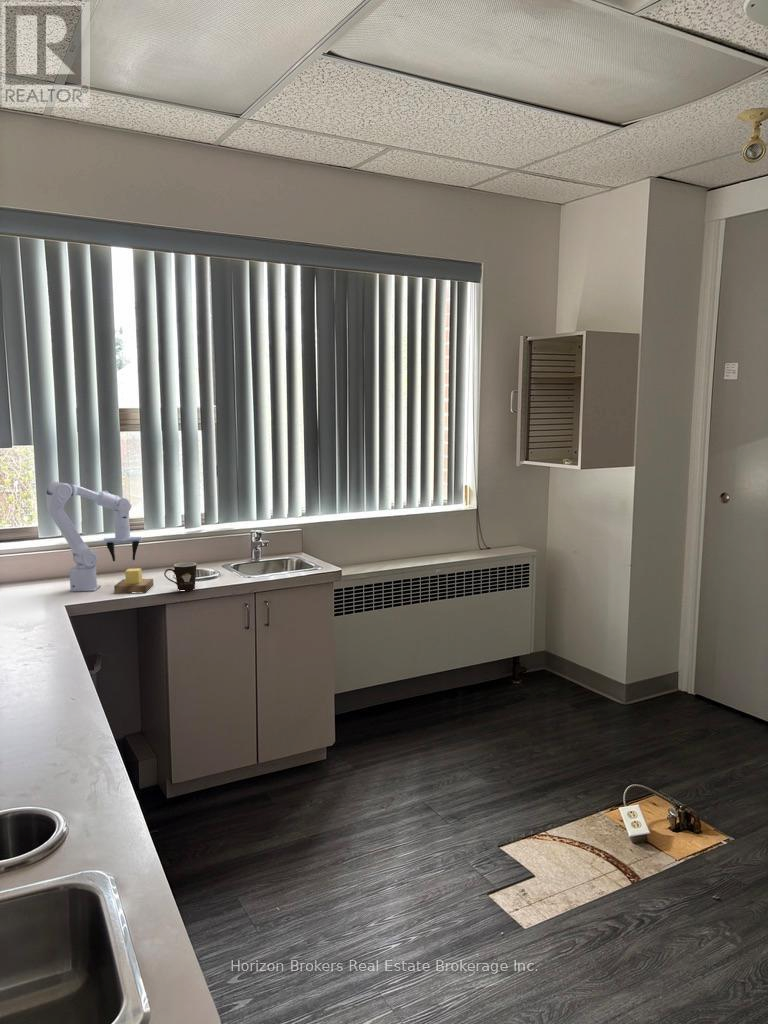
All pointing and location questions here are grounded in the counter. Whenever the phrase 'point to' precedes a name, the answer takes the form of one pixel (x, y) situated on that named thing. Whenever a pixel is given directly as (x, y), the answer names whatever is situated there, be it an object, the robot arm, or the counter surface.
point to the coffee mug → (184, 575)
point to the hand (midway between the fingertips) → (124, 560)
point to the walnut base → (133, 586)
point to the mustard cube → (133, 576)
